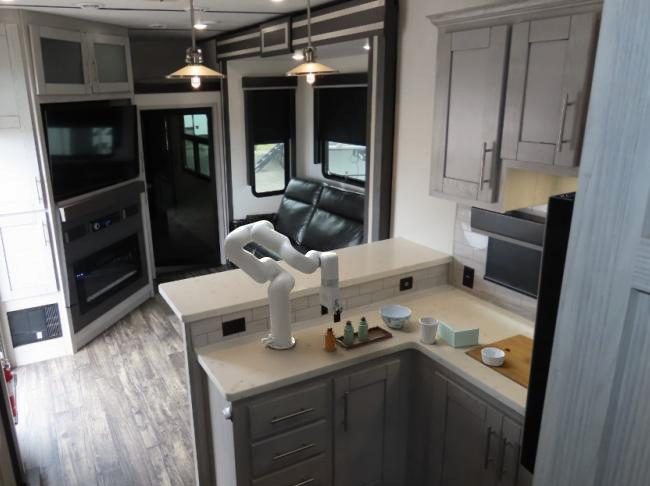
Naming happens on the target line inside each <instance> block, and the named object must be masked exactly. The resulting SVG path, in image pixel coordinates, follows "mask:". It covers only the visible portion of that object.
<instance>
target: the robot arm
mask: <svg viewBox="0 0 650 486" xmlns="http://www.w3.org/2000/svg"><path fill="white" fill-rule="evenodd" d="M253 242H254V243H256V244H258V245H259V246H261V247H263V248H265V249H267V250H269V251H271V252H273V253H275V254H277V255H278V256H279V257H280V258H281V259H282V260H283V261H284V262H285V264H287V266H289V267H291V268H293V269H295V270H297V271H299V272H300V273H303V274H306V275H311V274H313V273H315V272H316V271H317V270H318V269H320V284H319V294H318V299H319V303H320V304H319V305H320V315H321V316H326V315H328V314H329V310H332V311H333V323H334V324H337V323H341V316H342V315H341V314H342V312H343V310H344V306H343V304H342V303H341V291H340V286H339V285H340V283H339V282H340V279H339V278H340V277H339V276H340V275H339V274H340V273H339V255H338V253H335V252H331V251H329V252H323V251H318V250H310V251H308V252H307V253H306V254H303V253H302V252H300V251H298V250H297V249H296V248H294V246H293V245H292V244H291V241H290V239H289V237H288V236H286V235H284V234H282V233H280V232H278V231H277V230H275V226H274V224H273V223H272V222H270V221H268V220H266V219H265V220H259V221H255V222H251V223H249V224H245V225H242V226H239V227H237V228H235V229H234V230H232V231H231V232H229V233H228V234H227V236H226V237H225V238H224V240H223V245H222V246H223V252H224V255H225V257H226V258H227V259H228V260H229V261H230V262H231V263H232V264H234V265H235V266H236V267H238V268H239V269H240V270H241V271H242V272H244V273H245V274H246V275H247V276H248V277H249V278H251V279H252V280H253V281H254V282H256V283H258V284H261V285H263V284H266V283H267V282H268V281H270V283H269V284H268V287H267V298H268V304H269V321H270V323H269V324H270V325H269V326H270V333H269V334H268V336H267V337H264V338H261V339H260V342H261V344H266V345H267V346H269V348H271V349H274V350H288V349H291V348H293V347H294V346H295V345H296V339H295V338H294V337H293V336H292V335H293V334H292V310H291V309H292V307H291V299H290V294H291V292H292V291H293V289H294V287H295V285H296V280H295V278H294V276H293V274H292V273H291V272H290V271H289V270H287V269H286V268H285V267H284V266H282V265H281V264H280V263H279V262H278V261H276V260H275V259H274V258H271V257H268V256H267V257H266V256H265V257H262V258H260V259H259V258H258V257H257V256H255V255H254V254H253V253H252V252H249V251H248V250H245V249H244V247H245V246H247V244H250V243H253ZM336 309H337V310H336Z"/></svg>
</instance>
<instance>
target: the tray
mask: <svg viewBox="0 0 650 486" xmlns="http://www.w3.org/2000/svg"><path fill="white" fill-rule="evenodd" d="M392 337H393V333H392V332H390V331H388V330H387V329H385V328H384V327H381V326H380V325H375V326H371V327H368V340H366V341H361V340H359V339H358V330H356V331H354V344H352V345H346V344H344V342H343V334H342V335H339V336H335V344H337V345H339V346H340V347H342V348H343V349H345V350H346V351H348V350H351V349H355V348H358V347H362V346H365V345H368V344H372V343H375V342H380V341H383V340H386V339H389V338H392Z"/></svg>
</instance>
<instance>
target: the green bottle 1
mask: <svg viewBox="0 0 650 486" xmlns="http://www.w3.org/2000/svg"><path fill="white" fill-rule="evenodd" d="M342 329H343V331H342V332H343V334H342V335H343V342H344V344H346V345H352V344H354V332H355V327H354V326H353V324H352V321H351V320H346V322H345V324H344V326H343V327H342Z"/></svg>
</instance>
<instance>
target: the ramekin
mask: <svg viewBox="0 0 650 486" xmlns="http://www.w3.org/2000/svg"><path fill="white" fill-rule="evenodd" d="M480 353H481V361H482V363H484V364H485V365H487V366H491V367H499V366H502V365H503V364H504V360H505V356H506V353H505V351H503V350H501V349H499V348H496V347H484V348H482V349H481V351H480Z"/></svg>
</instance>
